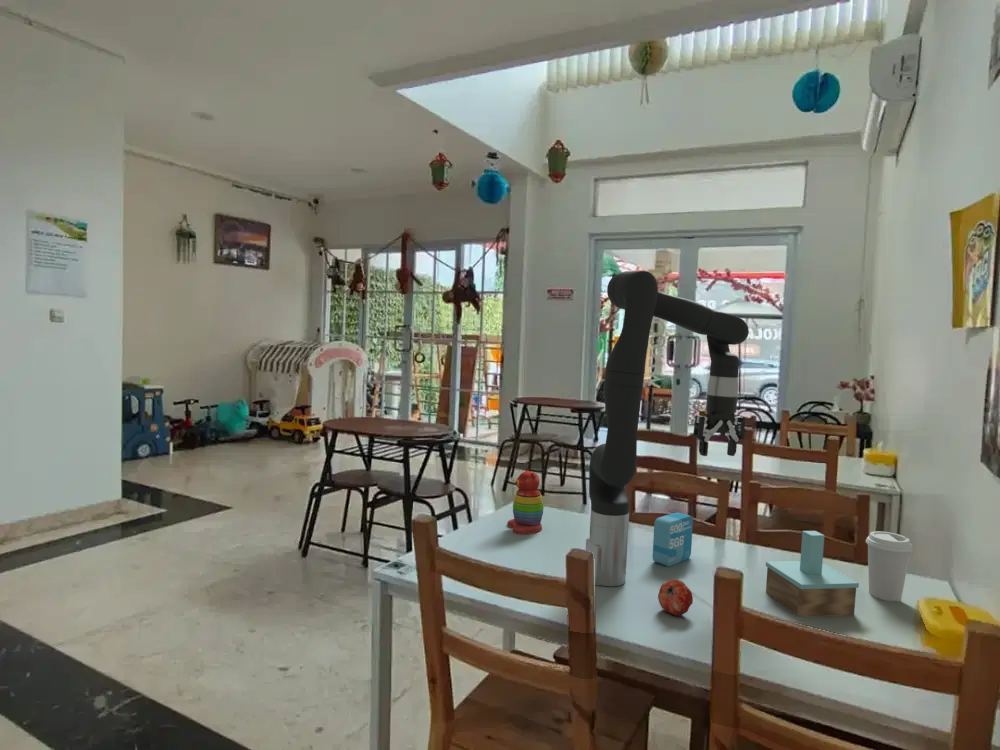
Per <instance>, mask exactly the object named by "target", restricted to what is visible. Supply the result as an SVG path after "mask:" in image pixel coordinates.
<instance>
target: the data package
mask: <svg viewBox="0 0 1000 750" xmlns="http://www.w3.org/2000/svg"><path fill="white" fill-rule="evenodd" d="M693 523H694V519H693V516H691V515H689V514H685V513H681V512H672V513H670V514H666V515H662V516H660V517H657V518H656V519H655V521H654V523H653V524H654V525H653V539H652V561H653V562H654V563H657V564H660V565H663V566H665V567H671V566H674V565H676V564H678V563H679V564H680V563H681V562H684V561H686V560H689V559H690V557H691V554H692V545H693V541H692V540H693Z"/></svg>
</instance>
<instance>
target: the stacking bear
mask: <svg viewBox="0 0 1000 750" xmlns="http://www.w3.org/2000/svg"><path fill="white" fill-rule="evenodd" d="M515 485H516V487H517V488H518V490H516V493H515V495H514V499H513V503H512V513H513V518H511V519H509V520H508V521H507V523H506V525H507V527H509V528H512V533H513V534H515V535H521V536H522V535H531V534H536V533H539V532H541V531H542V530H543V525H542V518H543V516H544V509H545V508H544V501H543V496H542V494H541V492H540V490H539V487H540V477H539V474H538V473H536V472H534V471H530V470H528V469H525V471H523V472H522V473H520V475H518V477H516V479H515Z"/></svg>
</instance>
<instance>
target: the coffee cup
mask: <svg viewBox="0 0 1000 750" xmlns="http://www.w3.org/2000/svg"><path fill="white" fill-rule="evenodd" d="M865 543H866V544H867V557H868V558H867V559H868V560H867V562H868V563H867V565H868V567H867V568H868V569H867V570H868V594H869V595H871V596H872V597H874V598H876V599H880V600H883V601H888V602H899V603H900V602H902V598H903V592H904V586H905V580H906V576H907V570H908V565H909V560H910V556H911V552H913V551H914V548H913V544H912V543H911V540H910V538H908V537H907V536H904V535H902V534H898V533H894V532H889V531H881V530H880V531H879V530H877V531H871V532H870V533H869V535H868V536H867V537H866V539H865Z"/></svg>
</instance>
